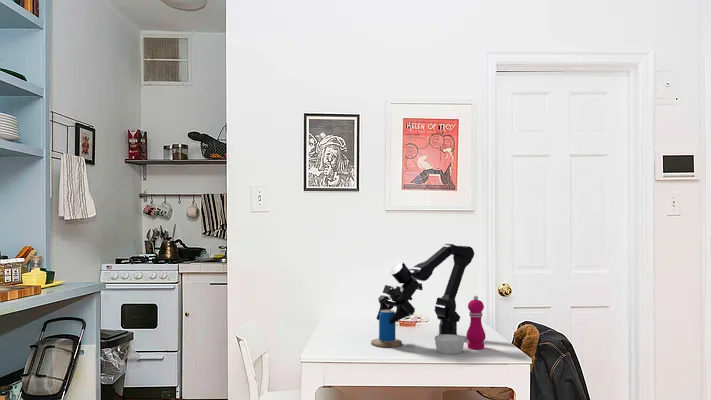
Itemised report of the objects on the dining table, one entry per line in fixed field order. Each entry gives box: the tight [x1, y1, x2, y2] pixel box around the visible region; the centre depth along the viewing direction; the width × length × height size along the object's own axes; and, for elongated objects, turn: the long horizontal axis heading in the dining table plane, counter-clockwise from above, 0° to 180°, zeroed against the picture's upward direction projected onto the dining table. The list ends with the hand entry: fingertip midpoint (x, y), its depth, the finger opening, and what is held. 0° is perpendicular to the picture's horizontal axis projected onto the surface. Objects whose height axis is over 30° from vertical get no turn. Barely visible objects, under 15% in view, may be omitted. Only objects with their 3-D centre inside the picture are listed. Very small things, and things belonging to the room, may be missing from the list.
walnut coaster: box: [370, 338, 403, 348], centre depth 222 cm, size 12×12×1 cm
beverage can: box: [378, 309, 396, 343], centre depth 222 cm, size 6×6×12 cm
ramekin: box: [434, 334, 466, 355], centre depth 211 cm, size 11×11×5 cm
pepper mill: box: [465, 295, 486, 351], centre depth 216 cm, size 7×7×20 cm
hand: (383, 321), depth 222 cm, fingers open, 9 cm apart
